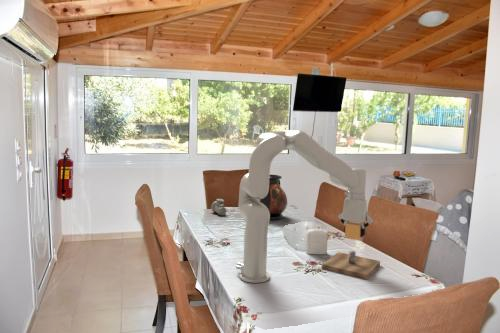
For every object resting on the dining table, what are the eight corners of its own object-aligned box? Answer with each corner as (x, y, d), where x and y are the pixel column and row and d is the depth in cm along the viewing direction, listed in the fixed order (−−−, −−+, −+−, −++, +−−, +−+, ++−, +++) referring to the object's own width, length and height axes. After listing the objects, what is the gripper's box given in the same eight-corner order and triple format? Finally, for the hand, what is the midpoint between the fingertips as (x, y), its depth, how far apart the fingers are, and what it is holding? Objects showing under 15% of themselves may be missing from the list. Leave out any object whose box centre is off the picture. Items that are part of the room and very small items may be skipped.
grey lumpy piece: (209, 211, 271) (211, 197, 269) (220, 211, 275) (222, 197, 273) (216, 217, 261) (218, 203, 259) (227, 217, 264) (229, 203, 263)
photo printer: (306, 254, 192) (307, 230, 191) (305, 251, 197) (306, 227, 195) (327, 255, 192) (329, 230, 191) (326, 252, 196) (327, 228, 195)
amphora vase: (266, 212, 277) (267, 172, 273) (292, 217, 264) (294, 175, 261) (247, 217, 260) (249, 175, 256) (275, 223, 247) (277, 179, 244)
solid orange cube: (344, 237, 175) (345, 223, 174) (349, 234, 181) (350, 220, 180) (359, 240, 172) (359, 225, 171) (363, 236, 177) (364, 222, 176)
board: (321, 268, 175) (322, 253, 174) (338, 256, 192) (338, 242, 191) (367, 279, 164) (368, 263, 163) (379, 265, 181) (380, 250, 180)
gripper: (334, 194, 175) (332, 234, 178) (373, 199, 166) (371, 240, 168) (340, 192, 182) (338, 230, 184) (378, 196, 172) (376, 236, 175)
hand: (354, 234), depth 176 cm, fingers closed on solid orange cube, 6 cm apart
